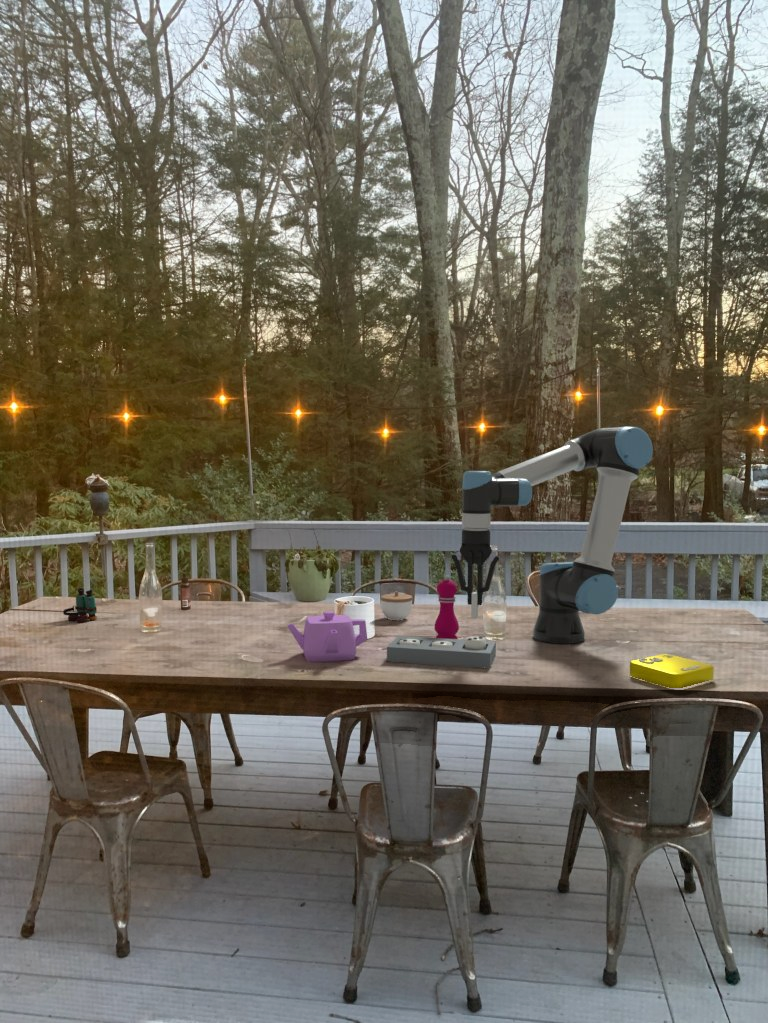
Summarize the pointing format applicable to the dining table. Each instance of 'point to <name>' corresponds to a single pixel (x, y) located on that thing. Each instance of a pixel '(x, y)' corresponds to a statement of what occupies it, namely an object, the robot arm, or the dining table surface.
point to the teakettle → (329, 637)
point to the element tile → (671, 671)
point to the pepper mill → (446, 610)
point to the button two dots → (410, 642)
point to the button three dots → (475, 643)
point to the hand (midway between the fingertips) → (474, 616)
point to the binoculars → (82, 607)
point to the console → (441, 653)
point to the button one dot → (442, 644)
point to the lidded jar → (396, 605)
